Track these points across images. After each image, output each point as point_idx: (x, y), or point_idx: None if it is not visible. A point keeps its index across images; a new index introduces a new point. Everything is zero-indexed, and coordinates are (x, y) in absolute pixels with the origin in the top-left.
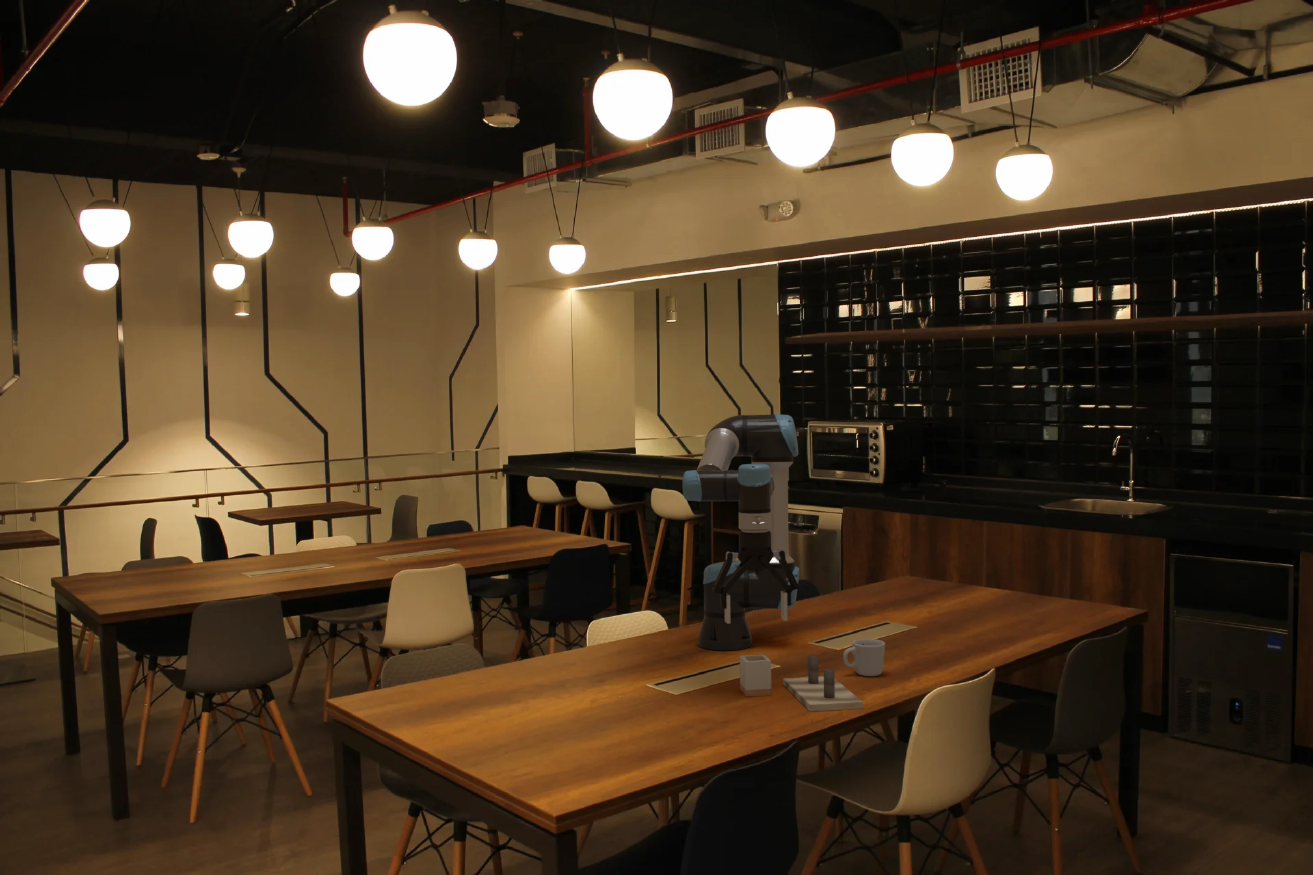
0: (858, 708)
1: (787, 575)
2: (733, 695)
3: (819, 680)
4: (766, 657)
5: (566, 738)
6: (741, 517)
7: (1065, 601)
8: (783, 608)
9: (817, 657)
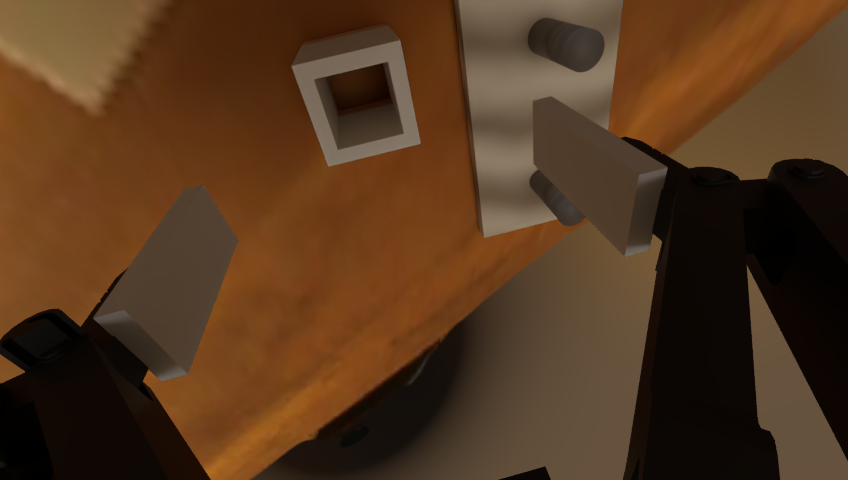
0: None
1: (804, 338)
2: (291, 114)
3: (570, 5)
4: (406, 93)
5: None
6: None
7: None
8: (564, 180)
9: (600, 53)
